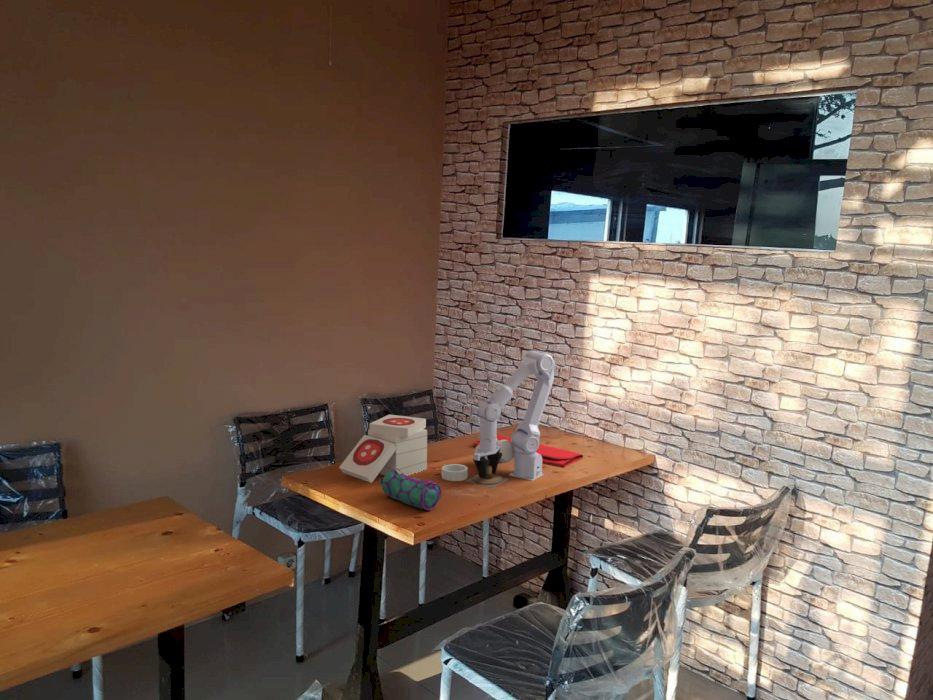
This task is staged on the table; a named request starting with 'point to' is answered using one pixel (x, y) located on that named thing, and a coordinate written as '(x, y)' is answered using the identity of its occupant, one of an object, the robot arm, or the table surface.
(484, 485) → the mat
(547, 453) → the dish drying mat
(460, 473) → the bowl
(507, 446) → the supplement can
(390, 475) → the pencil case
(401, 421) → the pizza boxes
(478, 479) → the lid
